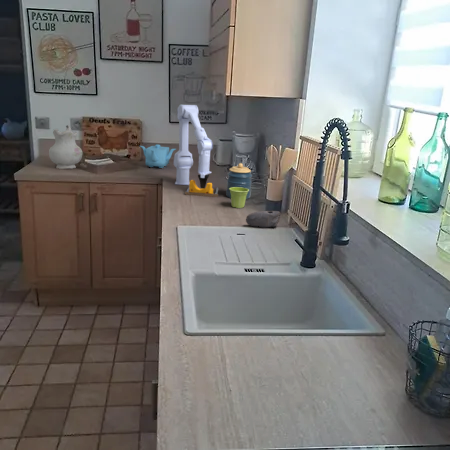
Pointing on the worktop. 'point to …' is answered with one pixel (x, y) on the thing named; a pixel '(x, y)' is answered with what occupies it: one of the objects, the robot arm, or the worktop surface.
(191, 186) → the pipe clamp
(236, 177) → the canister
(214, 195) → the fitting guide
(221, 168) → the worktop surface
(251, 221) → the perforated stone tool
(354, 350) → the worktop surface
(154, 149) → the teakettle
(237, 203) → the plant pot
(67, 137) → the ceramic pitcher
